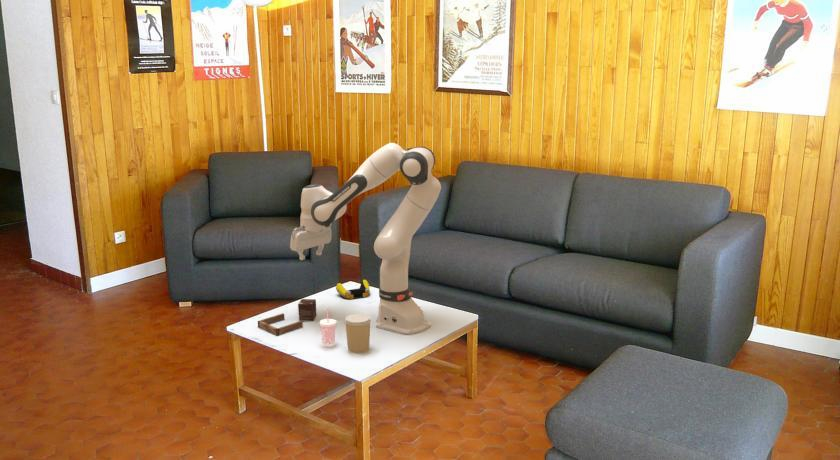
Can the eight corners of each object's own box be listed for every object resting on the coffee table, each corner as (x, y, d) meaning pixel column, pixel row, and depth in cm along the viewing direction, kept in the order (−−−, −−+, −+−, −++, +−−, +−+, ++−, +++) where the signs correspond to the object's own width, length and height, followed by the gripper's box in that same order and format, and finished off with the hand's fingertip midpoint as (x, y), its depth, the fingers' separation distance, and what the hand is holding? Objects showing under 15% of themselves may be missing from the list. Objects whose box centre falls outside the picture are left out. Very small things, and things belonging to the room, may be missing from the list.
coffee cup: (376, 348, 268) (376, 317, 265) (358, 356, 262) (357, 324, 259) (358, 341, 274) (358, 311, 272) (340, 349, 268) (339, 318, 265)
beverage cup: (317, 344, 272) (315, 308, 269) (330, 339, 276) (329, 304, 273) (326, 349, 268) (325, 313, 264) (340, 344, 272) (339, 309, 268)
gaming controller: (335, 294, 326) (342, 301, 318) (334, 282, 325) (341, 289, 316) (366, 290, 332) (374, 296, 324) (366, 278, 331) (374, 284, 322)
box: (316, 316, 301) (316, 299, 299) (313, 321, 295) (312, 304, 293) (302, 315, 301) (301, 298, 299) (298, 320, 295) (297, 303, 293)
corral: (302, 327, 288) (302, 321, 288) (277, 335, 280) (277, 329, 279) (283, 319, 297) (282, 313, 296) (258, 327, 289) (257, 321, 288)
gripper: (298, 230, 282) (297, 264, 286) (334, 221, 298) (333, 254, 302) (286, 227, 286) (286, 260, 290) (323, 218, 302) (322, 250, 306)
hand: (310, 257), depth 296 cm, fingers open, 8 cm apart
